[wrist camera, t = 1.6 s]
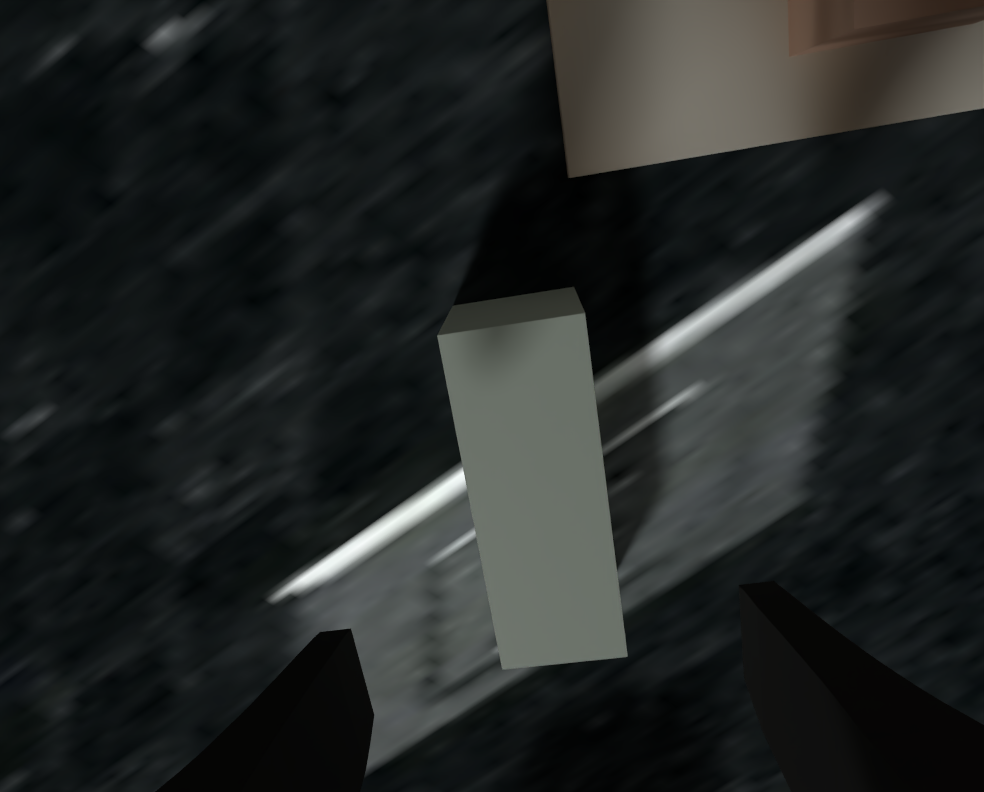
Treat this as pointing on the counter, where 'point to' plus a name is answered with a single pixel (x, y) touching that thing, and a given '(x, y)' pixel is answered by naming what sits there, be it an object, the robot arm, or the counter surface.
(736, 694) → the counter surface
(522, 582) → the lintel
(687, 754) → the counter surface
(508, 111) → the counter surface
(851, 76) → the arch base
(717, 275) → the counter surface
